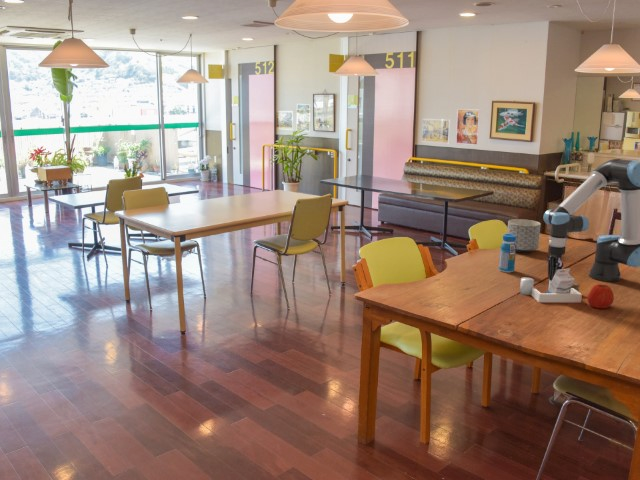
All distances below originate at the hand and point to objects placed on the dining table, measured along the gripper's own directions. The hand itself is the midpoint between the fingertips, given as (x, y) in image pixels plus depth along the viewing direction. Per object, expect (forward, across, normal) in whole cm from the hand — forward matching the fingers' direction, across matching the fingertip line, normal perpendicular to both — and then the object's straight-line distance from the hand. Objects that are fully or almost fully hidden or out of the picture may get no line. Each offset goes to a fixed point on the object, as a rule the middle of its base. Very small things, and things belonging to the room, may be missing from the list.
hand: (551, 292), depth 293 cm
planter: (+2, -85, +16) cm, 87 cm away
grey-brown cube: (+2, -4, +11) cm, 12 cm away
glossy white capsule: (+2, -4, -11) cm, 12 cm away
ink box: (+1, +3, +1) cm, 3 cm away
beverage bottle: (+2, -42, -8) cm, 43 cm away
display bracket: (+2, +4, 0) cm, 4 cm away
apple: (+2, +15, +17) cm, 22 cm away
